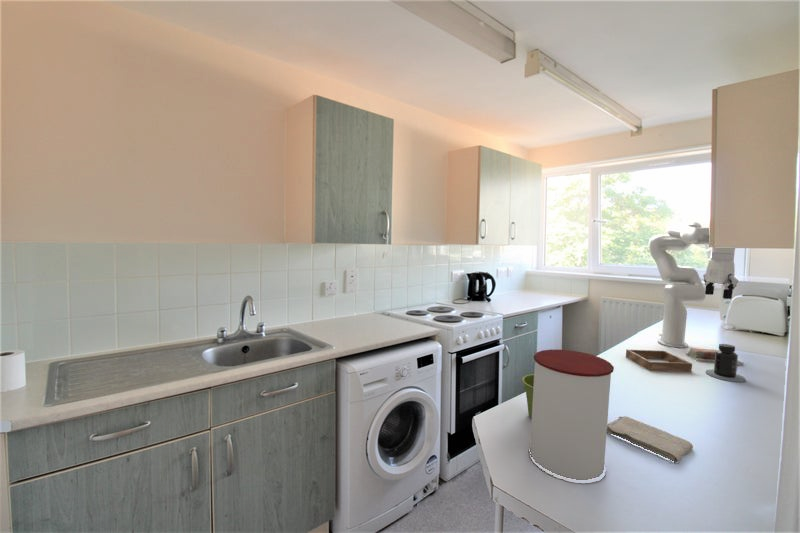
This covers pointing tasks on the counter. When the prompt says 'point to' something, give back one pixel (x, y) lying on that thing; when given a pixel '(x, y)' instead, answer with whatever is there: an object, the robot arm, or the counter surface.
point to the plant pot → (529, 391)
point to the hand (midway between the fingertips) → (717, 296)
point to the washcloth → (650, 438)
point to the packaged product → (704, 355)
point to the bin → (671, 365)
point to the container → (570, 413)
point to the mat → (732, 379)
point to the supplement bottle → (726, 361)
